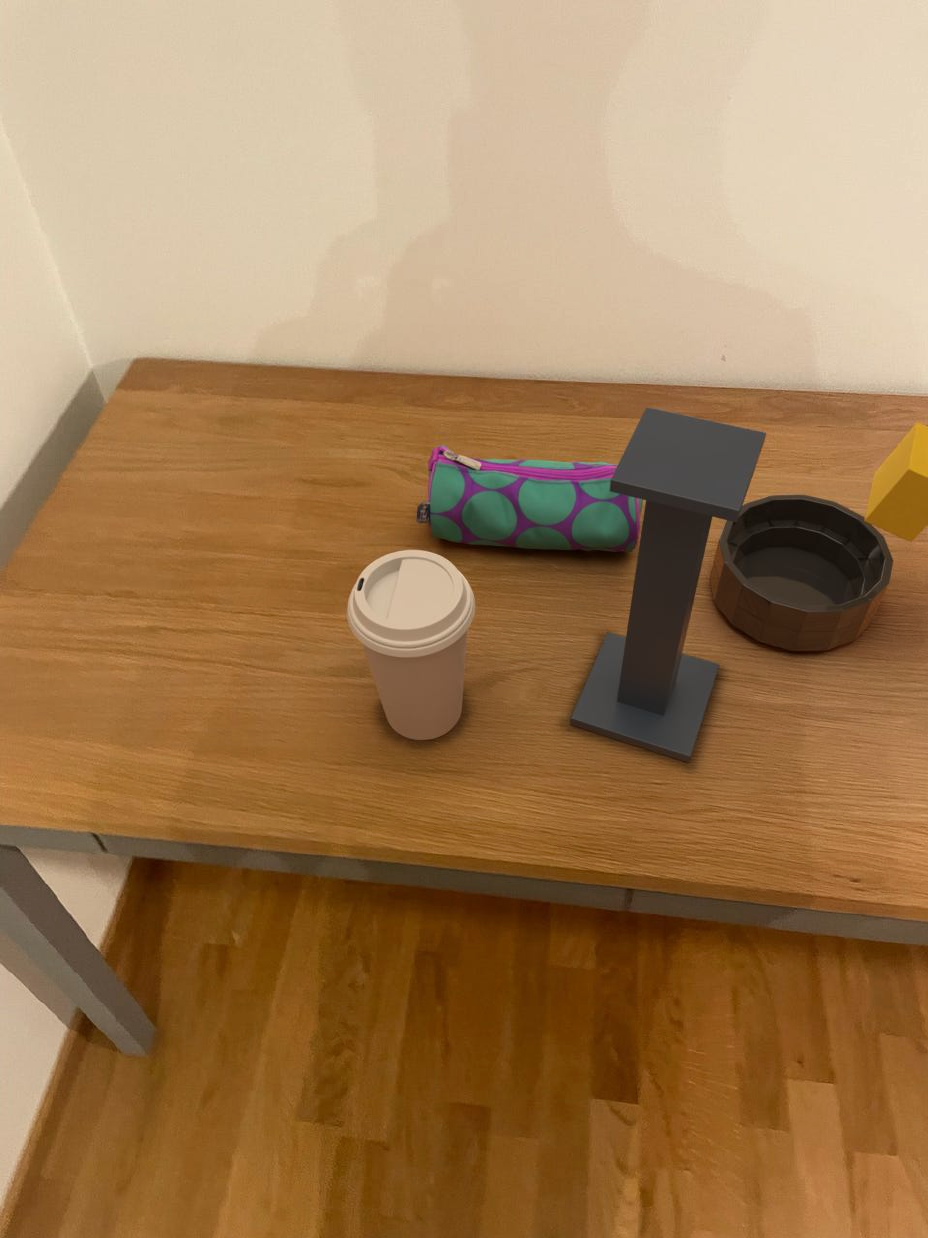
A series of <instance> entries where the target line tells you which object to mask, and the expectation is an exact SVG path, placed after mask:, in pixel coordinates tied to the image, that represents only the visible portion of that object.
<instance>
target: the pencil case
mask: <svg viewBox="0 0 928 1238" xmlns="http://www.w3.org/2000/svg"><path fill="white" fill-rule="evenodd" d="M427 463H428V467H427V471H428V485H427V501H422V502H421V503H420V504H418V505H417V507H416V508H417V509H416V523H417V524H423V525H424V524H428V527H429V530H430V532H431V535H432V536H433V538H435V539H439V540H446V541H448V542H452V543H458V544H465V545H478V546H493V547H506V548H507V547H508V548H509V547H510V548H517V549H518V548H519V549H530V550H557V551H558V550H559V551H578V550H582V551H585V552H591V551H603V552H604V551H605V552H614V553H615V552H626V553H632V552H633V551H634V550H635V549H636V547H637V546H638V543H639V542H638V541H639V537H640V535H639V534H640V529H641V514H642V510H643V503H644V500H643V499H638V498H634V497H630V496H626V495H622V494H618V493H614V492H610V491H609V490H610V480H611V478H612V476H613V474H614V472H615V470H616V468H617V466H618V464H613V463H609V462H606V461H605V462H603V461H595V462H594V461H593V462H585V461H574V462H566V461H565V462H564V461H557V460H556V461H555V460H554V461H553V460H541V459H498V458H488V459H483V458H475V457H470V456H465V455H462V454H457V453H455V452H454V451H453V450H451V449H449V447H448V446H446V445H444V444H441V445H438V446H436V447H433V449H432V451H431V455H430V457H429V459H428V462H427ZM424 507H425V508H424Z"/></svg>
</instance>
